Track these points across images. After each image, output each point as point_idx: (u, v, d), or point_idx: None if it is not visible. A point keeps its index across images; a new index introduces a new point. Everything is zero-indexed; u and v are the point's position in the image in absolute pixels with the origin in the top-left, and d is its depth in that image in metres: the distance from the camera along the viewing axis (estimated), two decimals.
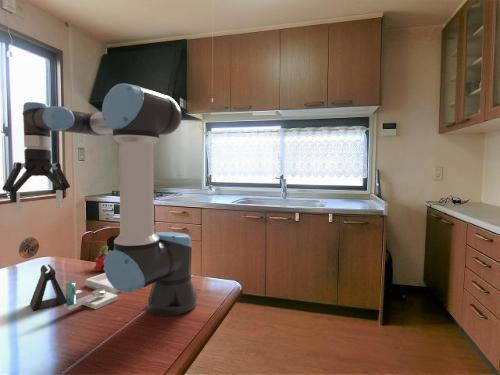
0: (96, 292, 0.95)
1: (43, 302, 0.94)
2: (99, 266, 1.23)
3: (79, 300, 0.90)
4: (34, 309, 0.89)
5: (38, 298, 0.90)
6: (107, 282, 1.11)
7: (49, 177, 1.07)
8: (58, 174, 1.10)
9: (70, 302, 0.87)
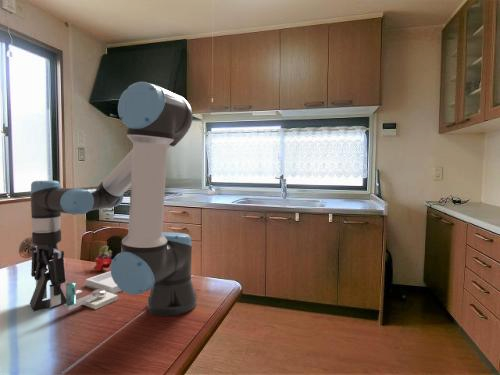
0: (96, 292, 0.95)
1: (43, 302, 0.94)
2: (99, 266, 1.23)
3: (79, 300, 0.90)
4: (34, 309, 0.89)
5: (38, 298, 0.90)
6: (107, 282, 1.11)
7: None
8: None
9: (70, 302, 0.87)
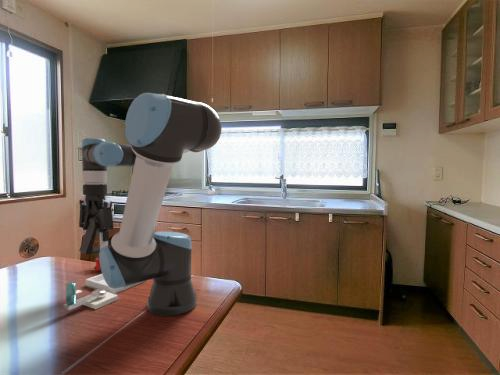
0: (96, 292, 0.95)
1: None
2: (99, 266, 1.23)
3: (79, 300, 0.90)
4: (87, 252, 1.00)
5: (90, 243, 1.00)
6: None
7: None
8: None
9: (70, 302, 0.87)
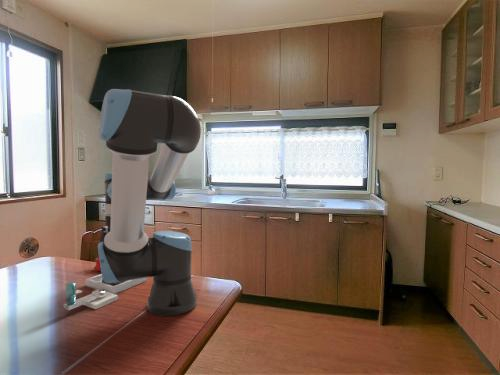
0: (96, 292, 0.95)
1: None
2: (99, 266, 1.23)
3: (79, 300, 0.90)
4: None
5: None
6: None
7: None
8: None
9: (70, 302, 0.87)
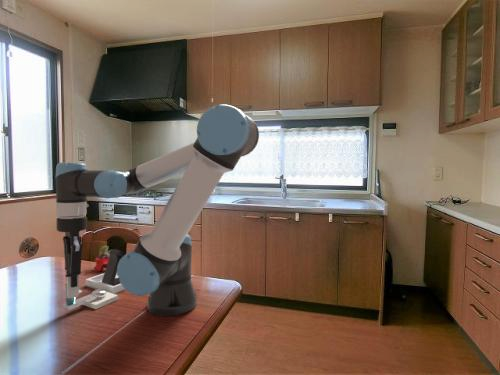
0: (96, 292, 0.95)
1: None
2: (99, 266, 1.23)
3: (79, 300, 0.90)
4: None
5: (112, 276, 1.07)
6: None
7: None
8: None
9: (70, 302, 0.87)
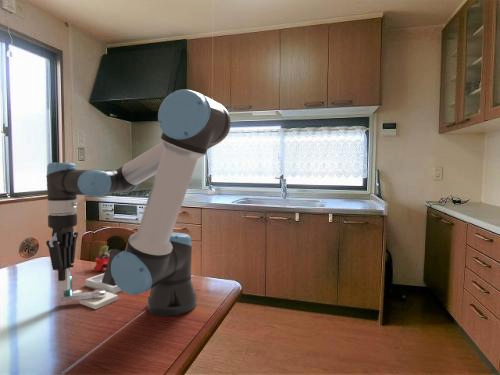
0: (95, 291, 0.96)
1: None
2: (99, 266, 1.23)
3: (76, 294, 0.94)
4: None
5: None
6: None
7: None
8: None
9: (64, 294, 0.93)
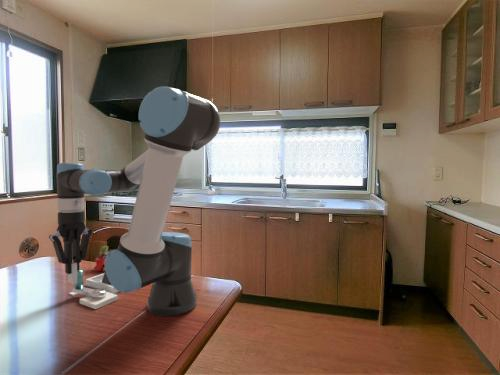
0: (96, 290, 0.97)
1: None
2: (99, 266, 1.23)
3: (83, 289, 0.99)
4: None
5: None
6: None
7: None
8: None
9: None
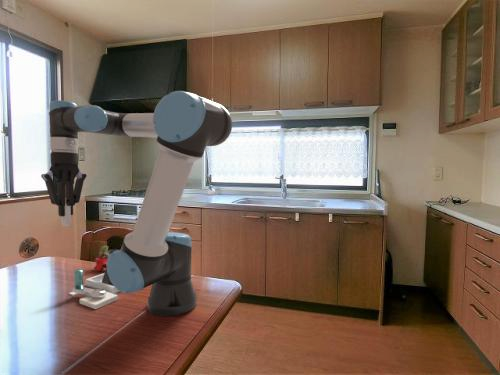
0: (96, 290, 0.97)
1: None
2: (99, 266, 1.23)
3: (83, 289, 0.99)
4: None
5: None
6: None
7: None
8: None
9: None
